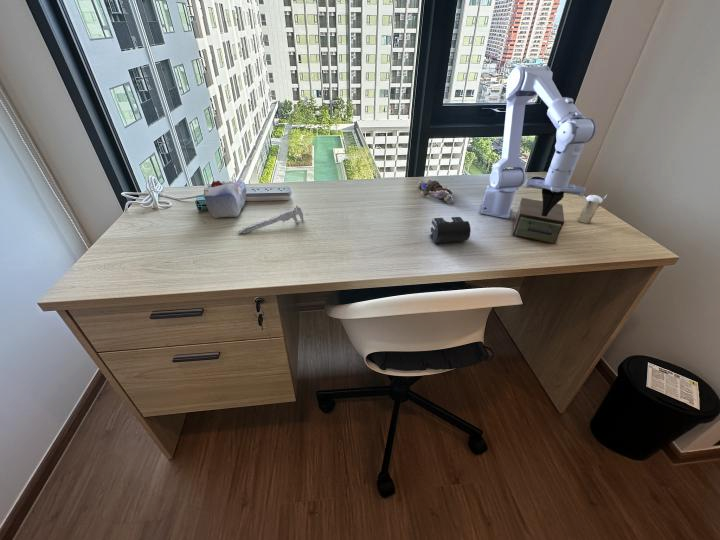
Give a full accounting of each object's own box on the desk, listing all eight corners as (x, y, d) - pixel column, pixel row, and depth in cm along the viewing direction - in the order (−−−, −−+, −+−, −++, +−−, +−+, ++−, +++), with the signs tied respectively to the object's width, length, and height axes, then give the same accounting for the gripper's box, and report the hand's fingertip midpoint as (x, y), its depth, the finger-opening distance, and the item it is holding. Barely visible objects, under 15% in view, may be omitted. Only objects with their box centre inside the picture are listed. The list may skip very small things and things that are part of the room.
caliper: (302, 221, 110) (301, 203, 106) (303, 222, 109) (302, 205, 105) (239, 232, 103) (234, 214, 99) (239, 234, 102) (235, 216, 98)
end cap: (435, 248, 97) (439, 227, 93) (428, 235, 103) (431, 216, 99) (467, 246, 98) (472, 226, 94) (459, 234, 104) (463, 214, 100)
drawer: (554, 250, 95) (561, 233, 92) (514, 242, 99) (520, 225, 95) (552, 226, 107) (559, 209, 104) (517, 219, 111) (522, 203, 107)
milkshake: (596, 225, 110) (610, 197, 104) (579, 223, 111) (591, 195, 105) (591, 218, 114) (604, 191, 108) (574, 217, 114) (587, 190, 108)
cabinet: (554, 244, 100) (564, 221, 95) (512, 235, 104) (519, 213, 99) (553, 225, 109) (562, 204, 105) (515, 218, 113) (521, 197, 109)
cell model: (198, 191, 101) (204, 170, 116) (207, 223, 107) (211, 199, 123) (242, 187, 104) (242, 167, 120) (249, 218, 110) (248, 195, 126)
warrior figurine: (411, 190, 131) (438, 209, 119) (412, 178, 128) (440, 196, 116) (435, 185, 136) (464, 203, 123) (437, 173, 133) (467, 190, 120)
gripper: (531, 168, 86) (516, 215, 94) (594, 177, 82) (573, 226, 90) (532, 160, 91) (517, 205, 99) (591, 168, 87) (571, 215, 95)
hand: (543, 214), depth 95 cm, fingers closed
